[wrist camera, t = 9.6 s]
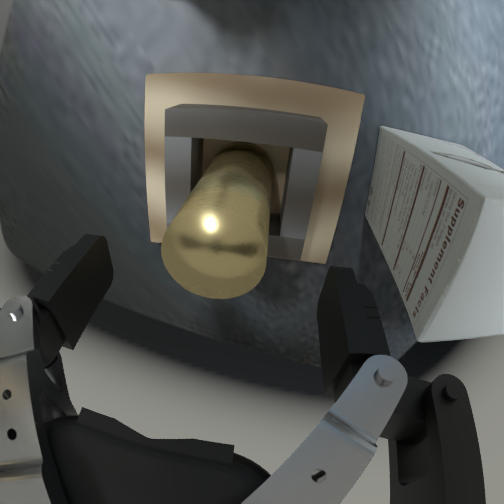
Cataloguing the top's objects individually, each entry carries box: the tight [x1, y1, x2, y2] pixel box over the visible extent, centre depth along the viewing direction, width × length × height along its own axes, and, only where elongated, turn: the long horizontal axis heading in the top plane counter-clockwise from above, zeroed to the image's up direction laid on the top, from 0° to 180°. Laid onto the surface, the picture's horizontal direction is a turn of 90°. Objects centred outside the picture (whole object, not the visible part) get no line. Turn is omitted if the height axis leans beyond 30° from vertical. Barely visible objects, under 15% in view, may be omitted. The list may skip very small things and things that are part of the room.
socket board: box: [145, 73, 365, 264], centre depth 18 cm, size 13×14×4 cm
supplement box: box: [365, 126, 504, 342], centre depth 14 cm, size 7×7×13 cm
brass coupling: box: [161, 141, 274, 299], centre depth 15 cm, size 4×4×10 cm
